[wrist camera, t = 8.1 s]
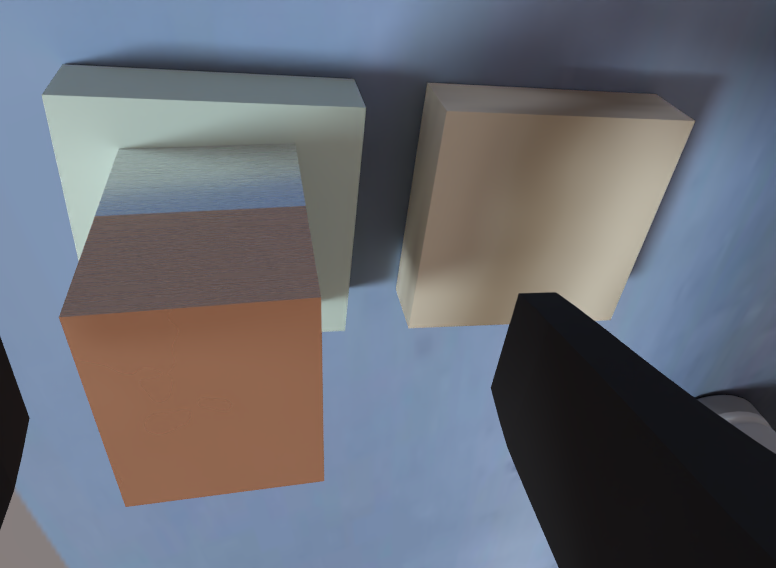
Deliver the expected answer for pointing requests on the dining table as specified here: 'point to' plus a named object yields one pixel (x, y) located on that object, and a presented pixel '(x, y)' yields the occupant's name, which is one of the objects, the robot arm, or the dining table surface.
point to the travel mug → (742, 418)
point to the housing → (201, 323)
